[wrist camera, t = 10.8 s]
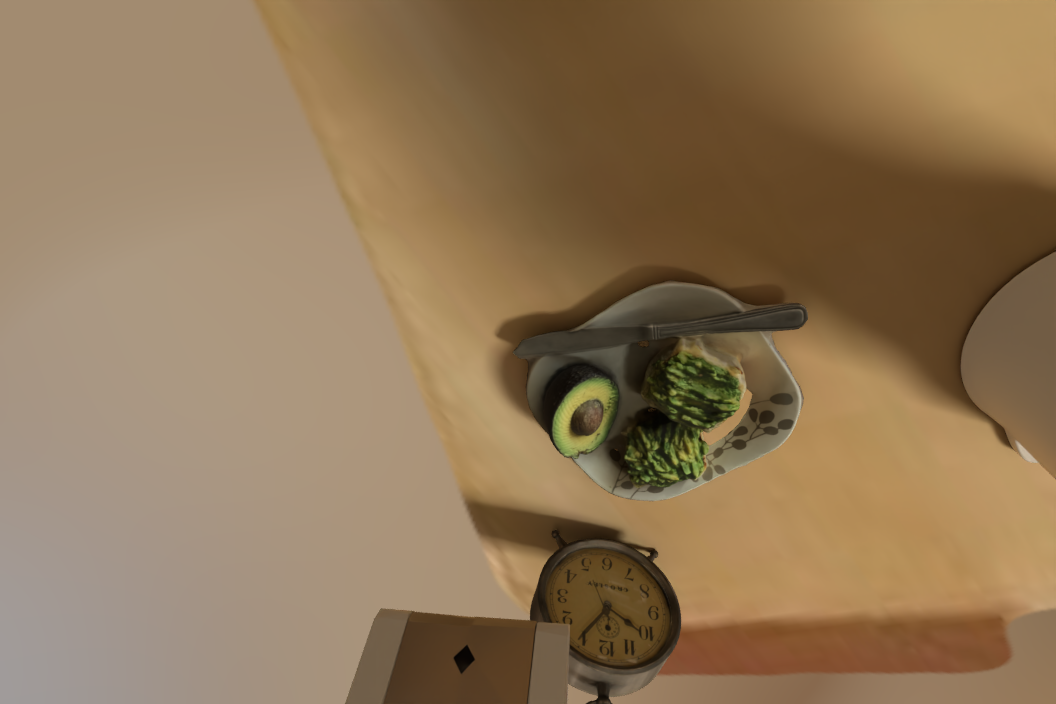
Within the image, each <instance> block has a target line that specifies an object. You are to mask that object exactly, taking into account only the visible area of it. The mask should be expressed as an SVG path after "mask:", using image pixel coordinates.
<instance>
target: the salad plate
mask: <svg viewBox="0 0 1056 704" xmlns="http://www.w3.org/2000/svg"><path fill="white" fill-rule="evenodd" d="M807 320H808V312H807V310H806V307H805V306H803V305H802V304H799V303H781V304H773V305H762V306H755V305H750V304H746V303H743V302H741V301H740V300H738V299H736V298H734V297H732V296H731V295H730V294H728V293H726V292H724V291H723V290H721V289H719V288H716V287H711V286H705V285H700V284H693V283H685V282H677V281H672V280H671V281H666V282H663V283H659V284H654V285H650V286H648V287H646V288H644V289H642V290H639V291H637V292H635V293H632V294H630V295H628V296H626V297H625V298H623V299H621V300H619V301H617V302H615V303H614V304H612V305H611V306H610V307H608V308H607V309H606V310H604V311H602V312H601V313H599V314H597V315H596V316H594V317H593V318H592V319H590V320H588V321H587V322H585V323H584V324H582V325H580V326H578V327H575V328H573V329H570V330H565V331H556V332H550V333H545V334H542V335H537V336H534V337H531V338H528V339H524V340H522V341H521V342H520V344H519V345H518V347H517V348H516V349H515V350H514V351H513V353H514V354H515V355H516V356H517V357H518V358H519V359H526V360H527V361H528V374H527V384H526V395H527V399H528V403H529V407H530V409H531V411H532V413H533V415H534V417H535V418H536V420H537V421H538V422H539V424H540V425H541V427H542V428H543V429H544V430H545V431H546V432H547V433H548V434H549V437H550V439H551V441H552V443H553V445H554V446H555V448H556V449H557V450H558V451H559V452H560V454H562V455H563V456H564V457H567V458H569V457H571V458H572V459H573V460H574V462H575V463H576V464H577V465H578V466H580V467H581V468H582V470H583V471H584V472H585V473H586V474H587V475H588V476H589V477H590V478H591V479H592V480H593V481H594V482H596V483H597V484H598V485H599V486H600V487H601V488H603V489H604V490H606V491H608V492H609V493H611V494H613V495H616V496H618V497H622V498H626V499H631V500H643V501H658V500H666V499H669V498H673V497H676V496H679V495H681V494H683V493H686V492H688V491H690V490H692V489H694V488H697V487H699V486H701V485H703V484H705V483H707V482H709V481H711V480H713V479H715V478H717V477H719V476H721V475H724V474H726V473H728V472H729V471H731V470H733V469H736V468H738V467H741V466H745V465H747V464H748V463H750V462H752V461H754V460H756V459H758V458H760V457H762V456H764V455H765V454H767V453H770V452H771V451H773V450H775V449H777V448H778V447H779V446H781V445H782V444H783V443H784V442H785V441H786V440H787V438H788V437H789V436H790V434H791V433H792V431H793V429H794V427H795V425H796V422H797V419H798V416H799V413H800V410H801V408H802V405H803V400H804V397H803V394H802V391H801V389H800V386H799V384H798V383H797V381H796V380H795V379H794V377H793V376H792V372H791V370H790V368H789V367H788V365H787V363H786V361H785V360H784V359H783V357H782V356H781V355H780V353H779V351H777V350H776V348H775V346H774V342H773V340H772V336H771V335H772V333H773V332H775V331H783V330H795V329H799V328H800V327H802V326H803V325H804V324H805V323H806V321H807ZM645 340H648V342H649V346H648V347H641V346H639V345H638V342H639V341H645ZM746 388H747V389H748V390H749V391H750V392H751V393H752V394H753V395H752V399H751V402H750V406H749V408H748V410H747V412H746V414H745V415H744V416H743V418H742V420H741V421H740V423H739V424H738V425H737V426H736V427H735V428H734V429H733V430H732V431H731V432H729V434H728V435H727V436H725V437H724V438H722V439H720V440H719V441H717V442H716V443H714V444H712V445H710V446H708V445H707V443H706V442H705V441H704V438H703V431H705V432H707V433H710V432H711V431H712V430H713V429H714V428H717V427H719V426H720V425H721V424H722V423H723V422H724V421H725V420H727V418H728V417H730V416H732V415H734V412H736V411H737V410H738V409H739V406H740V402H739V401H740V400H741V399H742V398H743V394H744V393H745V391H746ZM651 408H654V409H656V410H655V411H652V412H650V411H648V409H651ZM615 449H617V450H618V451H617V450H615Z"/></svg>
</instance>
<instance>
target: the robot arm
mask: <svg viewBox="0 0 1056 704" xmlns="http://www.w3.org/2000/svg"><path fill="white" fill-rule="evenodd" d="M961 376H962V381H963V384H964V387H965V389H966V391H967V393H968V395H969V397H970V398H971V400H972V401H973V402H974V403H975V405H976V406H977V407H978V408H979V409H981V410H982V411H983V412H984V413H986V414H987V415H989V416H990V417H991V418H992V419H994V420H995V421H996V422H997V423H999V424H1000V425H1001V426H1002V427H1003V428H1004V429H1005V432H1006V435H1007V438H1008V440H1009V442H1010V444H1011V446H1012V448H1013V449H1014V450H1015V451H1016V452H1017V453H1018V454H1019V455H1020V456H1021V457H1022V458H1023V459H1024V460H1026V461H1028V462H1032V463H1039V464H1040V465H1041V466H1042V467H1043V468H1045V469H1046V470H1047V471H1048V472H1049V473H1050V474H1051V475H1052V476H1053V477H1054V478H1055V479H1056V252H1054V253H1052V254H1050V255H1048V256H1046V257H1044V258H1043V259H1041V260H1039V261H1038V262H1036V263H1034V264H1033V265H1031V266H1030V267H1028V268H1027V269H1025V270H1024V271H1022V272H1021V273H1020V274H1018V275H1017V276H1016V277H1014V278H1013V279H1012V280H1011V281H1010V282H1008V283H1007V284H1006V285H1005V286H1004V287H1003V288H1002V289H1001V290H1000V291H999V292H998V293H997V294H996V295H995V296H994V297H993V298H992V299H991V300H990V301H989V302H988V303H987V305H986V306H985V307H984V308H983V310H982V311H981V312H980V314H979V315H978V317H977V318H976V320H975V322H974V323H973V325H972V327H971V329H970V331H969V333H968V335H967V338H966V340H965V343H964V347H963V351H962V356H961ZM569 644H570V624H559V623H546V622H538V623H537V621H530V620H515V619H501V618H486V617H466V616H455V615H444V614H433V613H422V612H414V611H406V610H394V609H380V611H379V613H378V614H377V616H376V617H375V619H374V621H373V625H372V627H371V630H370V633H369V636H368V639H367V642H366V645H365V647H364V650H363V654H362V656H361V659H360V662H359V665H358V668H357V671H356V674H355V677H354V680H353V682H352V685H351V688H350V691H349V694H348V697H347V700H346V703H345V704H567V695H568V670H569Z"/></svg>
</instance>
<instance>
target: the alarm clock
mask: <svg viewBox="0 0 1056 704" xmlns="http://www.w3.org/2000/svg"><path fill="white" fill-rule="evenodd" d="M552 536H553V538H555V539H556V541H557V543H558V546H559V548H560V549H559V550H557V551H556V552H555V553H554V554H553V555H552V556H551V557H550V558H549V559H548V560H547V562H546V564H545V565H544V567H543V569H542V572H541V574H540V578H539V582H538V585H537V588H536V591H535V594H534V597H533V600H532V604H531V610H530V621H537V623H538V622H546V623H559V624H570V644H569V670H568V684H570V685H571V686H573V687H575V688H577V689H579V690H581V691H584V692H586V693H589V694H593V695H597V696H598V698H597V700H595V701H590V702H588V703H586V704H612V703H611V701H610V699H609V697H617V696H624V695H627V694H631V693H633V692H636V691H638V690H640V689H641V688H643V687H645V686H646V685H647V684H649V683H650V682H651V681H652V680H653V679H654V678H655V677H656V675H657V674H658V673H659V671H660V670H661V668H662V666H663V665H664V663H665V662H666V660H667V658H668V657H669V655H670V654H671V653H672V651H673V650H674V648H675V646H676V644H677V641H678V638H679V635H680V629H681V613H680V607H679V603H678V599H677V596H676V594H675V592H674V590H673V588H672V586H671V584H670V582H669V581H668V579H667V577H666V576H665V575H664V573H663V572H662V571H661V570H660V569H659V568H658V567H657V566H656V565H655V564H654V563H653V560H654V558H657V557H658V552H657V551H656V550H653V551H651V553H650V556H648V557H646V556H645V555H643V554H642V553H640V552H639V551H637V550H635V549H634V548H632V547H630V546H628V545H625V544H623V543H620V542H616V541H612V540H607V539H598V538H591V539H582V540H577V541H574V542H571V543H569V544H567V543H566V542H565V541H564V540H563V539H562V538H561V536H560V535H559V531H558V530H553V531H552Z"/></svg>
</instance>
